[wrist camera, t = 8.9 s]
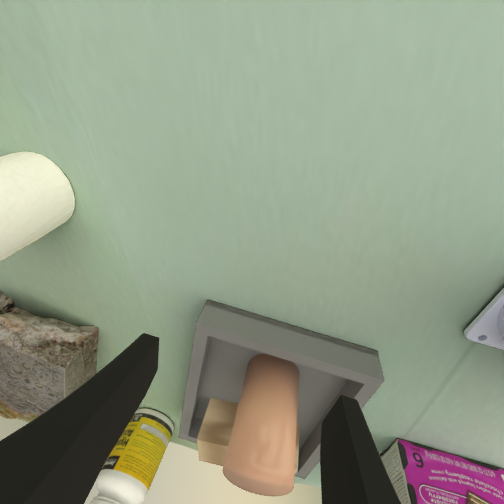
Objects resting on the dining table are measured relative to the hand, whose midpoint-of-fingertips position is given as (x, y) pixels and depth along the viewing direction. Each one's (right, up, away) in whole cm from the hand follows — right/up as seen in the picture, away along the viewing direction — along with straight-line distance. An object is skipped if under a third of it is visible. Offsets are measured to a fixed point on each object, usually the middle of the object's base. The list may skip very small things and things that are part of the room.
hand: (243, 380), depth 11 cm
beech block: (-2, -12, +18) cm, 22 cm away
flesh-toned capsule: (+2, -6, +14) cm, 15 cm away
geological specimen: (-22, -5, +20) cm, 30 cm away
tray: (+2, -8, +16) cm, 18 cm away
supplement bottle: (-12, -16, +24) cm, 31 cm away
